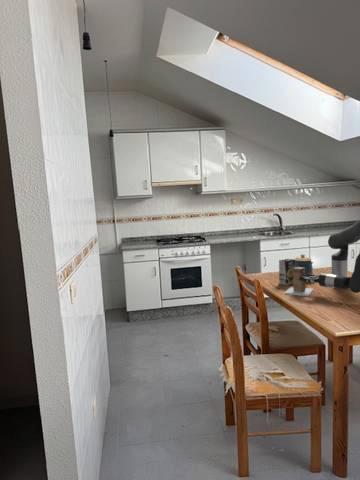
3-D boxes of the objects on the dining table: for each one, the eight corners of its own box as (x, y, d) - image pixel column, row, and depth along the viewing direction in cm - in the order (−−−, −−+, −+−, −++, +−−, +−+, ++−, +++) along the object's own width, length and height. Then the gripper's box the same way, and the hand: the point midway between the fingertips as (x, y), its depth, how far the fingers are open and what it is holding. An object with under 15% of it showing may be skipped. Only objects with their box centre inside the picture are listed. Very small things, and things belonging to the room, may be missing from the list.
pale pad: (290, 288, 236) (290, 286, 236) (313, 290, 229) (313, 288, 229) (284, 294, 224) (284, 292, 224) (308, 296, 217) (308, 294, 217)
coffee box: (286, 285, 244) (286, 261, 242) (278, 283, 249) (278, 260, 248) (295, 283, 249) (295, 259, 247) (288, 281, 254) (287, 258, 252)
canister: (316, 278, 259) (316, 253, 257) (308, 282, 249) (307, 256, 247) (298, 276, 268) (298, 252, 266) (289, 280, 258) (289, 255, 256)
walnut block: (298, 289, 230) (297, 266, 229) (305, 290, 226) (305, 267, 225) (293, 290, 227) (293, 268, 225) (300, 292, 223) (300, 269, 222)
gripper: (335, 272, 215) (310, 268, 227) (322, 276, 206) (296, 272, 219) (335, 284, 216) (310, 280, 228) (322, 289, 207) (296, 285, 219)
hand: (303, 276), depth 223 cm, fingers open, 8 cm apart
